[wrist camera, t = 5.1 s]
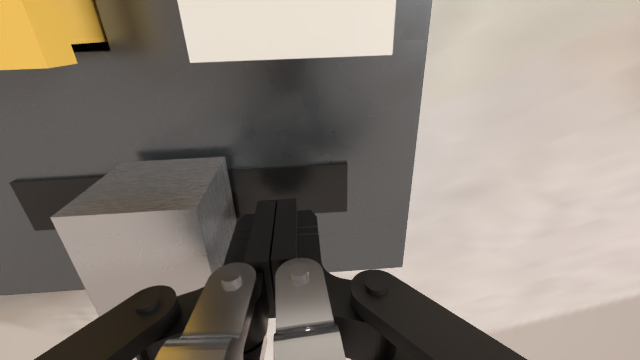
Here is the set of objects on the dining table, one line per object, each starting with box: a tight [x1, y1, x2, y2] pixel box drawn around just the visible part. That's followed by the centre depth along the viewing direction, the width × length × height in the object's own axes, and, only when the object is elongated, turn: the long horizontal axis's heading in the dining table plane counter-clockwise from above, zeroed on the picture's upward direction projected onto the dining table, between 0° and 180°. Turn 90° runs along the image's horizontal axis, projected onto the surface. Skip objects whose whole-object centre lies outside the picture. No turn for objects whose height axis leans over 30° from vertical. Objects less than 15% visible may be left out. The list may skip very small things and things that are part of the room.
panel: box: [0, 0, 432, 295], centre depth 13 cm, size 18×28×4 cm, turn 92°
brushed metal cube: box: [50, 157, 237, 317], centre depth 11 cm, size 4×4×4 cm
